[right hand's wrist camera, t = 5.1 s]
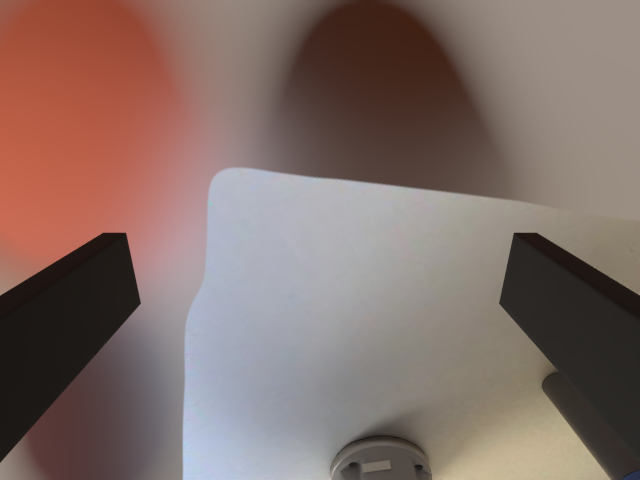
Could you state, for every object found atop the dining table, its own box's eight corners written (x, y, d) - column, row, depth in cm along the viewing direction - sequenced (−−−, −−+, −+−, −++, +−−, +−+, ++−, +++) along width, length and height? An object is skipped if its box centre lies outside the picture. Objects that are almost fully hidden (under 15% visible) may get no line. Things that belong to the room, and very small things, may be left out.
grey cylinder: (550, 369, 48) (648, 484, 34) (577, 375, 49) (685, 491, 34) (536, 391, 50) (624, 511, 35) (562, 397, 50) (660, 517, 36)
